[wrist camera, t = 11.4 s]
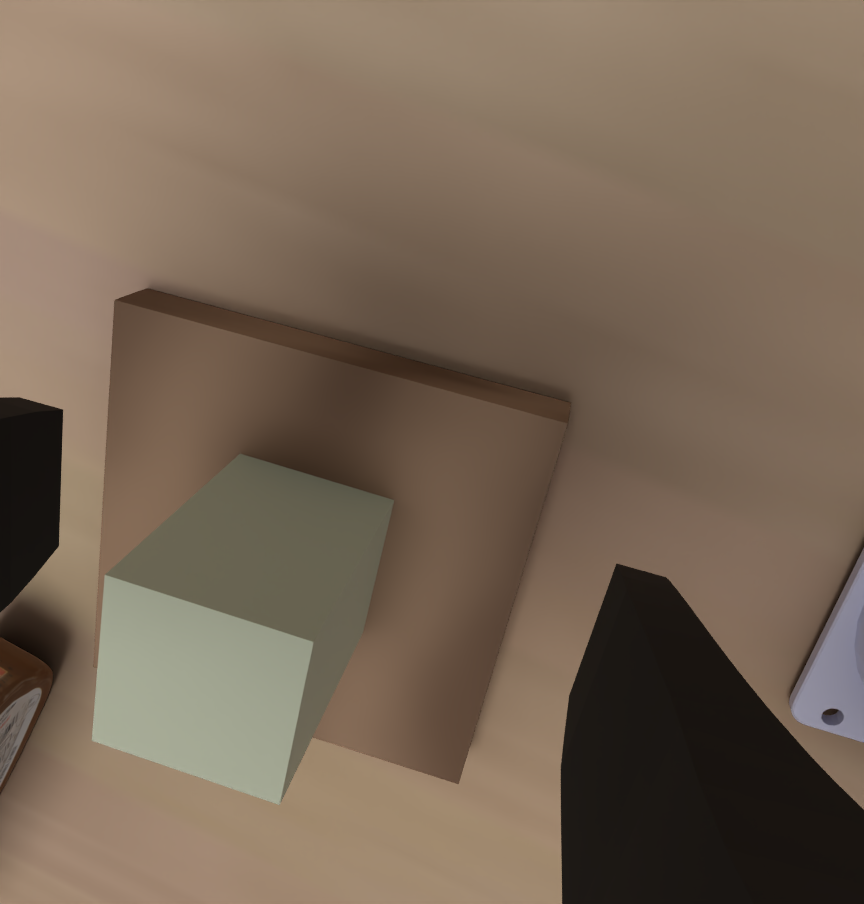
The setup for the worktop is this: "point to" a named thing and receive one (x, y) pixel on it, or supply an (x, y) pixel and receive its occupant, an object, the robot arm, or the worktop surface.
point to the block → (237, 624)
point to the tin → (19, 701)
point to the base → (355, 465)
